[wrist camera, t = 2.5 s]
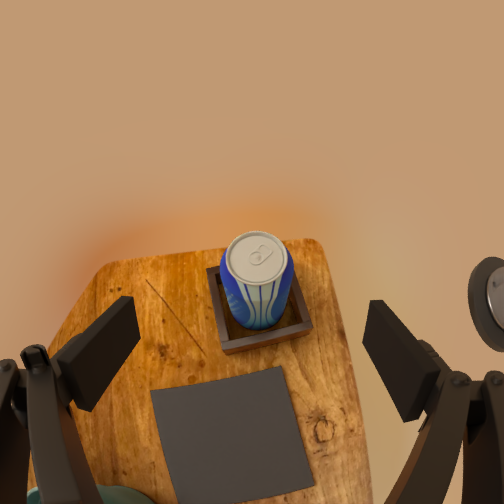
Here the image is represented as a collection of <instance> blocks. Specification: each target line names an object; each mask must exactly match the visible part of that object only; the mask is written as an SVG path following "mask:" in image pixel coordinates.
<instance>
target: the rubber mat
mask: <svg viewBox="0 0 504 504" xmlns="http://www.w3.org/2000/svg"><path fill="white" fill-rule="evenodd" d="M150 392H151V398H152V403H153V408H154V413H155V418H156V423H157V427H158V432H159V436H160V440H161V444H162V448H163V452H164V456H165V460H166V463H167V467H168V471H169V474H170V477H171V481H172V484H173V487H174V490H175V494H176V497H177V500H178V503H179V504H233V503H240V502H246V501H252V500H257V499H263V498H267V497H272V496H277V495H281V494H285V493H289V492H293V491H297V490H300V489H304V488H307V487H311V486H314V481H313V478H312V474H311V471H310V467H309V464H308V460H307V457H306V453H305V450H304V446H303V442H302V439H301V435H300V432H299V428H298V425H297V421H296V418H295V414H294V411H293V407H292V403H291V400H290V396H289V393H288V389H287V386H286V382H285V378H284V375H283V371H282V368H281V366H278V367H274V368H270V369H266V370H262V371H258V372H254V373H249V374H245V375H240V376H236V377H231V378H226V379H221V380H216V381H211V382H206V383H200V384H194V385H188V386H182V387H175V388H168V389H160V390H152V391H150Z"/></svg>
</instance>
